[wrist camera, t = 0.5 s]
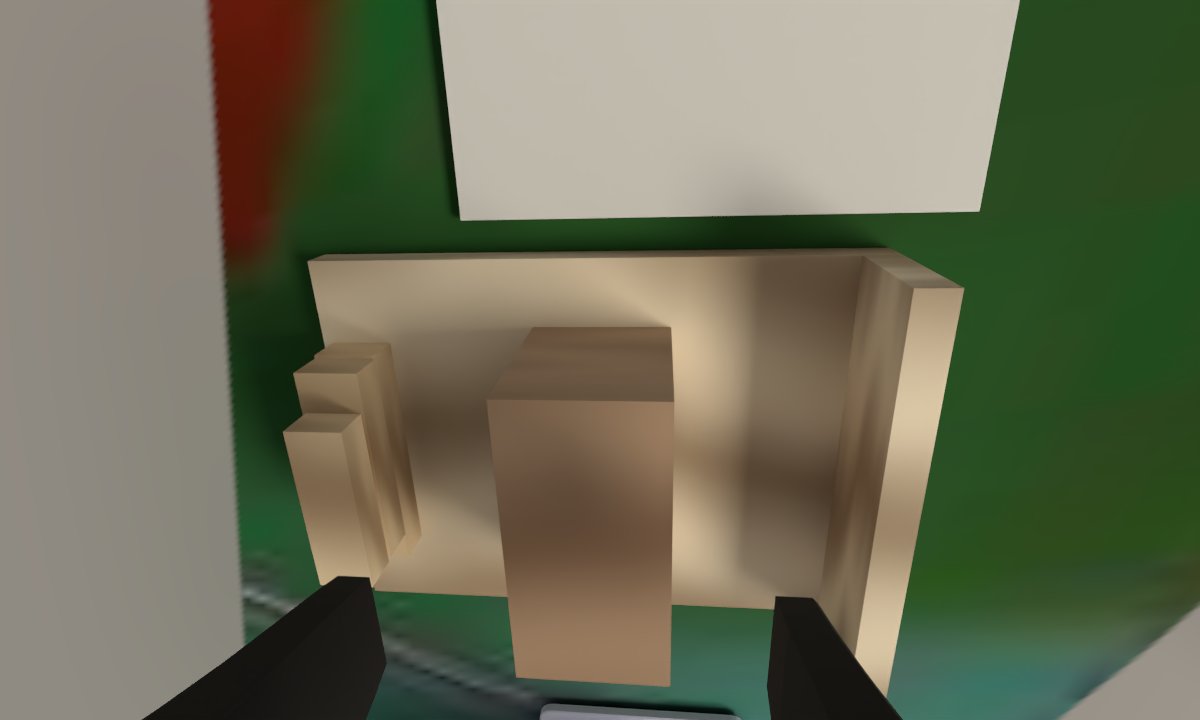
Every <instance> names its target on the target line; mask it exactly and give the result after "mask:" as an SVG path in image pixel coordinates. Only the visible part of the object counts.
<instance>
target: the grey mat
mask: <svg viewBox="0 0 1200 720" xmlns="http://www.w3.org/2000/svg"><path fill="white" fill-rule="evenodd" d="M1019 1H1020V0H436V4H437V13H438V22H439V31H440V40H441V49H442V58H443V67H444V76H445V84H446V93H447V102H448V111H449V120H450V129H451V138H452V147H453V156H454V165H455V174H456V183H457V192H458V201H459V210H460V219H461V221H463V220H519V219H576V218H633V217H690V216H747V215H804V214H861V213H918V212H975V211H980V205H981V200H982V195H983V190H984V185H985V179H986V174H987V169H988V164H989V158H990V153H991V148H992V143H993V137H994V132H995V127H996V122H997V116H998V111H999V106H1000V101H1001V95H1002V90H1003V85H1004V80H1005V75H1006V69H1007V64H1008V59H1009V54H1010V48H1011V43H1012V38H1013V33H1014V27H1015V22H1016V17H1017V12H1018V6H1019Z"/></svg>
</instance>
